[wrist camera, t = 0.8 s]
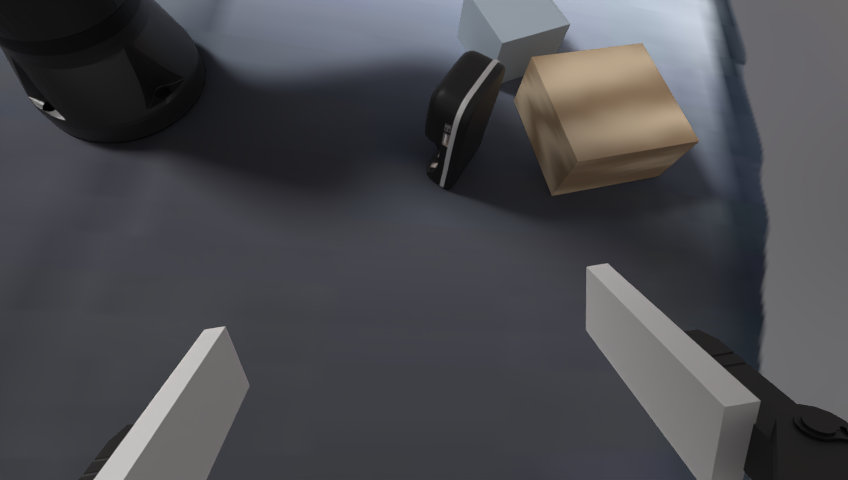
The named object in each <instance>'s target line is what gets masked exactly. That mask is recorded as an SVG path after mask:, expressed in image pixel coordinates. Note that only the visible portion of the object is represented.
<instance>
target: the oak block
mask: <svg viewBox="0 0 848 480" xmlns="http://www.w3.org/2000/svg"><path fill="white" fill-rule="evenodd" d="M514 102H515V105H516V107H517V110H518V112H519V115H520V117H521V120H522V122H523V125H524V127H525V130H526V132H527V135H528V137H529V140H530V142H531V145H532V147H533V150H534V152H535V155H536V157H537V160H538V162H539V165H540V167H541V170H542V172H543V175H544V178H545V180H546V183H547V185H548V188H549V190H550V193H551V195H552V196H555V195H560V194H565V193H571V192H576V191H582V190H587V189H593V188H598V187H603V186H609V185H614V184H620V183H625V182H631V181H636V180H641V179H647V178H652V177H658V176H660V175H661V174H662V173H663V172H664V171H665V170H666V169H668V168H669V167H670V166H671V165H672V164H673V163H675V162H676V161H677V160H678V159H679V158H680V157H681V156H683V155H684V154H685V153H686V152H687V151H688V150H690V149H691V148H692V147H693V146H694V145H695V144H697V143H698V142H699V140H698V138H697V136H696V135H695V133H694V131H693V129H692V128H691V126H690V124H689V122H688V121H687V119H686V117H685V116H684V114H683V112H682V110H681V109H680V107H679V105H678V104H677V102H676V100H675V98H674V97H673V95H672V93H671V92H670V90H669V88H668V86H667V85H666V83H665V81H664V80H663V78H662V76H661V74H660V73H659V71H658V69H657V67H656V66H655V64H654V62H653V61H652V59H651V57H650V55H649V54H648V52H647V50H646V49H645V47H644V45H643V43H640V44H632V45H624V46H616V47H608V48H600V49H591V50H583V51H575V52H567V53H559V54H551V55H543V56H534V57H531V60H530V62H529V65H528V67H527V69H526V72H525V74H524V77H523V79H522V82H521V84H520V87H519V89H518V92H517V94H516V97H515V99H514Z"/></svg>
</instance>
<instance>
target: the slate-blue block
mask: <svg viewBox="0 0 848 480" xmlns="http://www.w3.org/2000/svg"><path fill="white" fill-rule="evenodd" d="M569 26H570V23H569V22H568V20H567V19H566V18H565V16H564V15H563V14H562V12H561V11H560V10H559V9H558V7H557V6H556V5H555V3H554V2H553V1H552V0H464V1H463V7H462V12H461V18H460V23H459V29H458V34H457V38H458V39H459V41H460V42H461V44H462V46H463V47H464V49H465V50H466V52H468V51H477V52H479V53H481V54H483V55H485V56H487V57H489V58H491V59H493V60H494V59H496V60H498V61H500V63H501V64H503V65H504V66H505V74H504V78H503V81H502V83H504V82H507V81H511V80H514V79H517V78H520V77H524V74H525V72H526V69H527V67H528V65H529V62H530V60H531V57H534V56H543V55H551V54H557V51H558V49H559V47H560V45H561V43H562V41H563V39H564V37H565V34H566V32H567V30H568V28H569Z"/></svg>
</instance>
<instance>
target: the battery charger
mask: <svg viewBox="0 0 848 480" xmlns="http://www.w3.org/2000/svg"><path fill="white" fill-rule="evenodd" d="M504 74H505V66H504V65H503V64H501V63H500V61H498V60H496V59H494V60H493V59H491V58H489V57H487V56H485V55H483V54H481V53H479V52H477V51H468V52H466V53H464V54H463V55H462V56H461V57H460V58H459V60H458V61H457V62H456V63H455V65H454V66H453V67H452V68H451V70H450V71H449V72H448V73H447V75H446V76H445V77H444V78H443V80H442V81H441V82H440V84H439V85H438V86H437V88H436V89H435V90H434V92H433V94H432V96H431V100H430V104H429V108H428V113H427V119H426V126H425V134H426V136H427V137H428V139H430V140H431V141H433V142H434V143H435V144H436V146H437V148H438V151H437V153H436V154H435V155H434V157H433V158H432V160H431V161H430V162H429V164H428V166H427V169H426V170H427V175H428V176H429V177H430V179H432V180H433V181H434V182H436V183H437V184H439V185H440V186H441V187H442V188H446V189H450V188H451V187H452V186H453V184H454V183H455V181H456V180H457V179H458V177H459V176H460V174H461V173H462V171H463V170H464V168H465V167H466V165H467V164H468V162H469V161H470V159H471V158H472V156H473V155H474V153H475V152H476V150H477V149H478V147H479V146H480V143H481V140H482V137H483V135H484V132H485V129H486V126H487V123H488V120H489V118H490V115H491V112H492V109H493V107H494V104H495V101H496V98H497V95H498V92H499V89H500V87H501V84H502V81H503V78H504Z"/></svg>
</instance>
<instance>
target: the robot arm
mask: <svg viewBox="0 0 848 480" xmlns="http://www.w3.org/2000/svg"><path fill="white" fill-rule="evenodd" d="M0 47H1V48H2V50H3V52H4V54H5V56H6V57H7V59H8V61H9V63H10V65H11V66H12V68H13V70H14V72H15V74H16V75H17V77H18V79H19V81H20V82H21V84H22V86H23V88H24V90H25V91H26V93H27V95H28V97H29V99H30V100H31V101H32V103H33V104H34V105H35V106H36V108H37V109H38V110H39V111H40V112H41V113H42V114H43V115H45V116H46V117H47V118H48V119H49V120H50V121H52V122H53V123H54V124H55V125H56V126H57V127H59V128H60V129H61V130H63V131H64V132H66V133H68V134H70V135H72V136H75V137H77V138H80V139H84V140H89V141H94V142H123V141H129V140H134V139H138V138H142V137H145V136H148V135H151V134H153V133H156V132H158V131H160V130H162V129H164V128H166V127H168V126H169V125H171V124H173V123H174V122H175V121H177V120H178V119H179V118H181V117H182V116H183V115H184V114H185V113H186V112H187V111H188V110H189V109H190V108H191V107H192V106H193V104H194V103H195V102H196V100H197V99H198V97H199V95H200V93H201V91H202V88H203V85H204V80H205V67H204V62H203V59H202V57H201V55H200V53H199V51H198V50H197V48H196V46H195V44H194V42H193V40H192V39H191V37H190V36H189V34H188V33H187V32H186V31H185V29H184V28H183V27H182V26H181V25H179V24H178V23H177V22H176V21H175V20H174V19H173V18H172V17H171V16H170V15H169V14H168V13H167V12H166V11H165V10H164V9H163V8H162V7H161V6H160V5H159V4H158V3H157V2H156V1H155V0H0ZM586 331H587V332H588V333H589V335H590V336H591V337H592V339H593V340H594V341H595V343H596V344H597V346H598V347H599V348H600V350H601V351H602V352H603V354H604V355H605V356H606V358H607V359H608V360H609V362H610V363H611V364H612V366H613V367H614V368H615V370H616V371H617V372H618V374H619V375H620V376H621V378H622V379H623V381H624V382H625V383H626V385H627V386H628V387H629V389H630V390H631V391H632V393H633V394H634V395H635V397H636V398H637V399H638V401H639V402H640V403H641V405H642V406H643V407H644V409H645V410H646V411H647V413H648V414H649V416H650V417H651V418H652V420H653V421H654V422H655V424H656V425H657V426H658V428H659V429H660V430H661V432H662V433H663V434H664V436H665V437H666V438H667V440H668V441H669V442H670V444H671V445H672V447H673V448H674V449H675V451H676V452H677V453H678V455H679V456H680V457H681V459H682V460H683V461H684V463H685V464H686V465H687V467H688V468H689V469H690V471H691V472H692V473H693V475H694V476H695V477H696V479H697V480H743V477H744V472H746V474H747V475H748V476H749V477H750V478H751V479H752V480H848V423H847V422H846V421H845V420H843V419H841V418H839V417H837V416H836V415H834V414H832V413H830V412H828V411H825V410H822V409H819V408H817V407H813V406H807V405H801V404H796V403H795V402H794V401H792V400H791V399H790V398H789V397H788V396H786V395H785V394H784V393H783V392H781V391H780V390H779V389H778V388H777V387H775V386H774V385H773V384H772V383H770V382H769V381H768V380H767V379H766V378H764V377H763V376H762V375H761V374H760V373H758V372H757V371H756V370H755V369H754V368H752V367H751V366H750V365H747V364H746V362H745V361H744V360H743V359H742V358H740V357H739V356H738V355H737V354H734V353H733V351H732V350H731V349H729V348H728V347H727V346H726V345H725V344H723V343H722V342H721V341H720V340H718V339H717V338H715V337H712V336H710V335H708V334H706V333H704V332H702V331H700V330H693V331H687V332H683V331H682V330H681V329H680V328H679V327H678V326H677V325H676V324H674V323H673V322H672V321H671V320H670V319H669V318H668V317H667V316H666V315H664V314H663V313H662V312H661V311H660V310H659V309H658V308H657V307H656V306H654V305H653V304H652V303H651V302H650V301H649V300H648V299H647V298H646V297H644V296H643V295H642V294H641V293H640V292H639V291H638V290H637V289H636V288H634V287H633V286H632V285H631V284H630V283H629V282H628V281H627V280H625V279H624V278H623V277H622V276H621V275H620V274H619V273H618V272H617V271H615V270H614V269H613V268H612V267H611V266H610V265H609V264H608V263H607V264H600V265H594V266H588V267H587V270H586ZM249 386H250V385H249V383H248V380H247V378H246V376H245V373H244V371H243V368H242V366H241V363H240V361H239V358H238V356H237V353H236V351H235V348H234V346H233V344H232V341H231V339H230V336H229V334H228V331H227V329H226V326H224V327H218V328H212V329H206V330H204V331H203V332H202V334H201V335H200V336H199V338H198V339H197V340H196V342H195V343H194V344H193V346H192V347H191V348H190V350H189V351H188V352H187V354H186V355H185V357H184V358H183V359H182V361H181V362H180V363H179V365H178V366H177V367H176V369H175V370H174V371H173V373H172V374H171V376H170V377H169V378H168V380H167V381H166V382H165V384H164V385H163V386H162V388H161V389H160V390H159V392H158V393H157V395H156V396H155V397H154V399H153V400H152V401H151V403H150V404H149V405H148V407H147V408H146V409H145V411H144V412H143V413H142V415H141V416H140V418H139V419H138V420H137V422H136V423H135V424H132V425H127V426H126V427H125V428H123V429H122V430H121V431H120V432H119V433H118V434H117V435H115V436H114V437H113V438H112V439H111V440H110V441H108V443H107V444H106V445H105V447H104V448H103V449H102V450H101V452H100V453H99V454H98V456H97V457H96V458H95V462H92V463H91V465H90V466H89V467H88V469H87V470H86V471H85V472H84V476H83V477H81V478H80V479H79V480H206V479H207V477H208V475H209V472H210V470H211V468H212V466H213V464H214V462H215V459H216V457H217V455H218V453H219V451H220V449H221V447H222V444H223V442H224V440H225V438H226V436H227V434H228V431H229V429H230V427H231V425H232V423H233V421H234V418H235V416H236V414H237V412H238V410H239V408H240V405H241V403H242V401H243V399H244V397H245V395H246V392H247V390H248V388H249Z"/></svg>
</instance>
